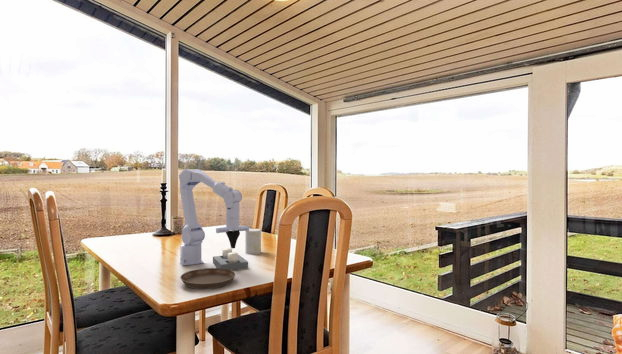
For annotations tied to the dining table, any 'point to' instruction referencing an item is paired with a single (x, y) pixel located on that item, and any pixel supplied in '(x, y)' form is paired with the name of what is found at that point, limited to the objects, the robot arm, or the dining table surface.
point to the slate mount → (224, 264)
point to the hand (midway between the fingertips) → (232, 247)
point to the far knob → (226, 252)
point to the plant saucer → (207, 278)
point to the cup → (253, 241)
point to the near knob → (232, 257)
